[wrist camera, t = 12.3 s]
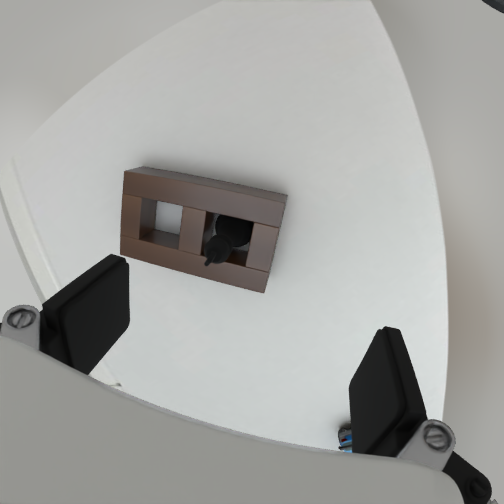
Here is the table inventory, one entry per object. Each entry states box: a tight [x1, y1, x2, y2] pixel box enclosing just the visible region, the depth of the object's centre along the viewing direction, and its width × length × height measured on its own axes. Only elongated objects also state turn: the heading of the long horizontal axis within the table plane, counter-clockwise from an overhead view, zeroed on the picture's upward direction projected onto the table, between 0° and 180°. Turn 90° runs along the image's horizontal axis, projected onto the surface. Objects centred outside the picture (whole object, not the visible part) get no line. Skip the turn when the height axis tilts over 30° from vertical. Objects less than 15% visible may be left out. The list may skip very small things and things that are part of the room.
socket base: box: [120, 167, 287, 293], centre depth 33 cm, size 10×17×4 cm, turn 79°
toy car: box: [338, 429, 352, 453], centre depth 41 cm, size 6×12×6 cm, turn 26°
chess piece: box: [204, 214, 254, 266], centre depth 30 cm, size 4×4×10 cm
